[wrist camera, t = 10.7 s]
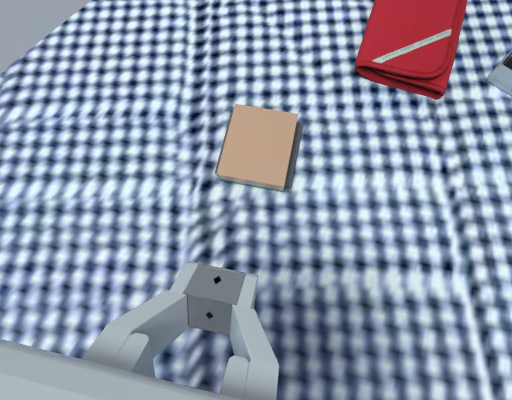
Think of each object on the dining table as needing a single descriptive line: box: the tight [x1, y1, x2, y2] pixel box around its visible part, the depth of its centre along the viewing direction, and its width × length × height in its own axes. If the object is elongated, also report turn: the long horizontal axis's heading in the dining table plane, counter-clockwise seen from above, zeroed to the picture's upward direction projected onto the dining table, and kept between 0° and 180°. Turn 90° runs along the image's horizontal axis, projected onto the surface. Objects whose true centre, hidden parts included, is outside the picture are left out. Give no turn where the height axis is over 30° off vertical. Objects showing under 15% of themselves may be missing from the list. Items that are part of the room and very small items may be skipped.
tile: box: [217, 104, 298, 192], centre depth 40 cm, size 2×10×12 cm
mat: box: [215, 112, 303, 188], centre depth 42 cm, size 11×12×1 cm
